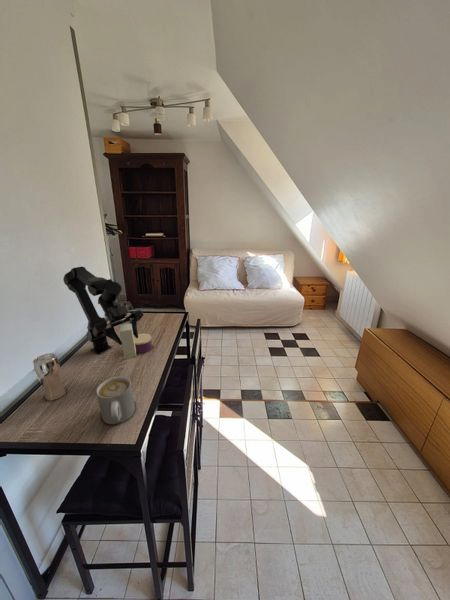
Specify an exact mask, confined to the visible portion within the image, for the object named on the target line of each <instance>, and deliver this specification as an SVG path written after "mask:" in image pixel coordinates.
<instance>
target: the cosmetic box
mask: <svg viewBox="0 0 450 600" xmlns="http://www.w3.org/2000/svg"><path fill="white" fill-rule="evenodd" d="M119 337H120V340H121V342H122V345H121V347H122V352H123V358H124V360H130V359H135V358H137V353H136V348H135V342H134V334H133V329H132V323H129V322H128V323H123V324H120V325H119Z"/></svg>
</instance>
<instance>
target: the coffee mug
mask: <svg viewBox="0 0 450 600" xmlns="http://www.w3.org/2000/svg"><path fill="white" fill-rule="evenodd" d="M95 392H96V393H95V394H96V397H97V401H98V406H99V411H100V414H101V418H102V421H103V422H104V423H106V424H109V425H117V424H120V423H123V422H125V421H127V420H128V419H130V418H131V417H132V416H133V415H134V413H135V410H136V403H135V397H134V393H133V387H132V381H131V380H130V378H128V377H126V376H113V377H111V378H108V379H106V380H103V382H101V383H100V384H98V386H97V387H96V391H95Z"/></svg>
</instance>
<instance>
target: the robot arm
mask: <svg viewBox="0 0 450 600" xmlns="http://www.w3.org/2000/svg"><path fill="white" fill-rule="evenodd" d="M62 279H63V283H64V285H65V286H66V287H67V288H68V290H69V291H71V292H73V293H74V294H75V297H76V298H77V300H78V302H79V304H80V306H81V309H82V311H83V313H84V315H85V317H86V319H87V321H88V322H87V328H86V329H87V332H86V334H85V336H86V339H87V341H89V342H90V343H92V346H93V348H91V349H90V351H91V352H94V353H96V354H103V353H104V352H106V351H108V350H110V349H111V348H112V346H111V345H109V343H108V342H109V341H108V338H109V339H111V340H112V341H114V342H115V343H117V344H118V345H119V346H122V341H121V337H120V336H119V335H118V333H117V332H116V330H115V327H117V326H120V325H123V324H127V323H128V324H129V323H132V329H133V335H134V336H135V337H136V338H138V334H139V333H138V326H137V325H138V324H137V323H138V322H139V321H141V319H142V318H143V317H144V315H145V313H144V312H143V311H142V310H141V309H137V310H134V311H132V312H130V311H131V310H133V309H134V308H133V307H134V306H133V304H132V303H131V301H126V302H124V303H123V305H121V304H120V303H119V304H118V301H117V300H118V298H119V296H120V295H121V293H122V290H123V289H122V285H121V284H120V283H119V282H117V281H113V280H112V278H110V279H109V278H108V279H106V278H104V277H100V276H99V277H98V276H95V274H93V273H91V272H90V271H89V270H87V269H86V267H85V266H77V267H73V268H71V269H70V270H69V271H68V272H66V273H65V274H64V275H63V278H62ZM86 288H87V289H86ZM89 294H90V295H92V296H93V297H96V296H98V299H97V304H98V305H100V307H101V309H102V311H103V312H104V313H103V314H104V317H101V316H100V315H99V313H98V311H97V310H96V307H95V305H94V303H93V301H92V299H91V296H90V295H89ZM129 313H130V314H129ZM128 314H129V315H128ZM106 318H107V320H108V321H109V322H107V321H106Z"/></svg>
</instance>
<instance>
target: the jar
mask: <svg viewBox="0 0 450 600" xmlns="http://www.w3.org/2000/svg"><path fill="white" fill-rule="evenodd" d="M134 342H135V348H136V355H137V354H146V353H148V352H150V351H151V350H152V349H153V343H152V335H151V334H149V333H145V332H143V333H138V338H136V337H135V336H134Z"/></svg>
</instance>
